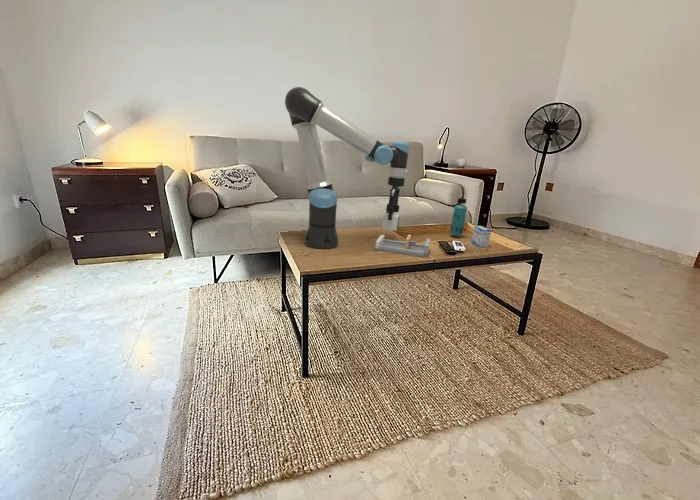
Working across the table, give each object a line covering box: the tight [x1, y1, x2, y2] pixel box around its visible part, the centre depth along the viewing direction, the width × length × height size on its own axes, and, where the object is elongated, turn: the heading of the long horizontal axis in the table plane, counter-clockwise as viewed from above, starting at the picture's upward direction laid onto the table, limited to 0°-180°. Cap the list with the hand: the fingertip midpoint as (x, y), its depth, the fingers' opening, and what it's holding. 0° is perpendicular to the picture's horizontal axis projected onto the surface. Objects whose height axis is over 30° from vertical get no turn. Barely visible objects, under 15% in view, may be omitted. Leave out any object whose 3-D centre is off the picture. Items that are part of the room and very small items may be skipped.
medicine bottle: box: [381, 203, 401, 232], centre depth 165 cm, size 7×7×12 cm
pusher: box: [405, 234, 417, 249], centre depth 150 cm, size 4×8×5 cm, turn 164°
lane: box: [375, 234, 431, 258], centre depth 151 cm, size 22×12×5 cm, turn 74°
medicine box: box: [471, 225, 492, 248], centre depth 166 cm, size 8×4×9 cm, turn 12°
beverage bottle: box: [449, 197, 468, 237], centre depth 176 cm, size 6×7×20 cm
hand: (390, 224), depth 166 cm, fingers closed on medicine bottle, 7 cm apart
